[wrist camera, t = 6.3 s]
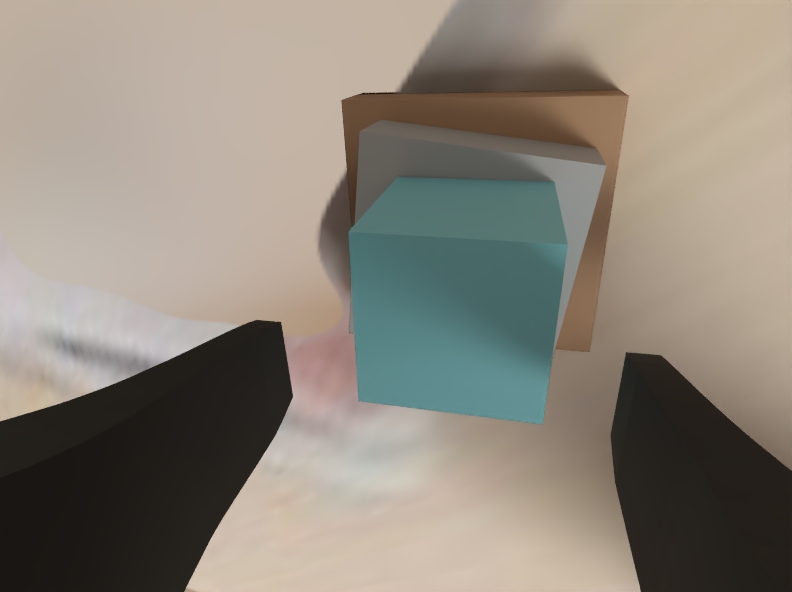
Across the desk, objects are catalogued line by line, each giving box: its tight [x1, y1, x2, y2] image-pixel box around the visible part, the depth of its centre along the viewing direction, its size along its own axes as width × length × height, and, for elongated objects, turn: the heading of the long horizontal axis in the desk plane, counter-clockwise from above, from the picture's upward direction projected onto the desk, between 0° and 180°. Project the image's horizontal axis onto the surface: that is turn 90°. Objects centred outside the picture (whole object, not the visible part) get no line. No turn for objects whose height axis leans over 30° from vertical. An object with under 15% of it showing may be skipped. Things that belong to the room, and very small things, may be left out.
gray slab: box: [349, 120, 606, 359], centre depth 17 cm, size 7×7×2 cm
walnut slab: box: [342, 90, 629, 352], centre depth 19 cm, size 9×9×2 cm
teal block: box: [348, 177, 568, 424], centre depth 14 cm, size 4×4×5 cm
